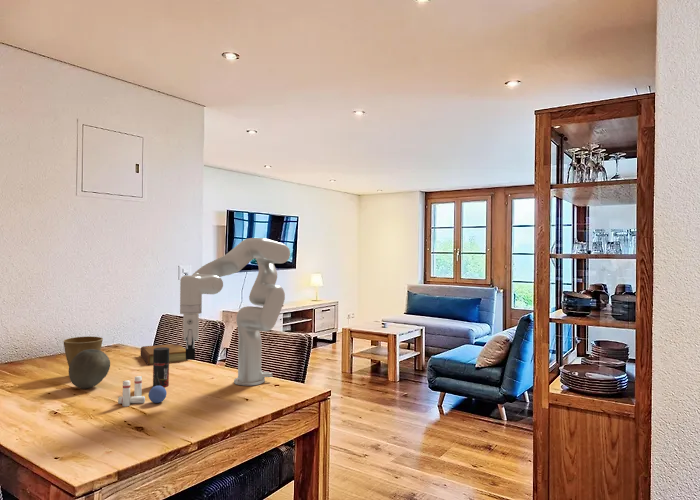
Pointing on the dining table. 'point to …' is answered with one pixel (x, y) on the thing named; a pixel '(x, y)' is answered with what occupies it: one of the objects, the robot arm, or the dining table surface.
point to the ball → (157, 394)
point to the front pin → (133, 399)
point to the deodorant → (161, 367)
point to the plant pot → (80, 346)
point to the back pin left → (126, 393)
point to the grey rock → (88, 368)
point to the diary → (175, 353)
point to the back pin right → (138, 386)
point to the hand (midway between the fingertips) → (190, 359)
